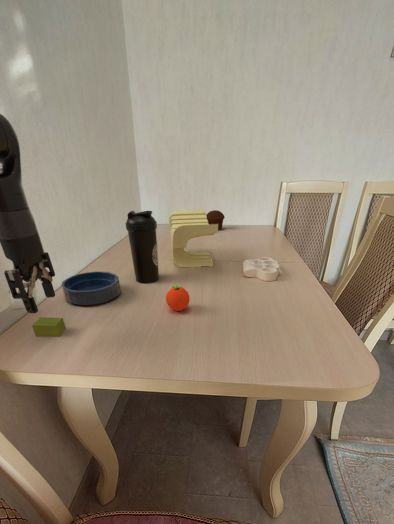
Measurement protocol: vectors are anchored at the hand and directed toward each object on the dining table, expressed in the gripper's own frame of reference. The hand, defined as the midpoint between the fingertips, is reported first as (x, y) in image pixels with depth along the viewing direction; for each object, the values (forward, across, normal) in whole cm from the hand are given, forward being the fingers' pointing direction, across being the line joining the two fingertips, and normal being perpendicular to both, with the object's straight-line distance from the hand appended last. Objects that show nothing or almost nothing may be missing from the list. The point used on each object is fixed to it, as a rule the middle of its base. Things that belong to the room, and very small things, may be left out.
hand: (42, 304), depth 70 cm
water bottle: (+10, -42, +16) cm, 46 cm away
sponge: (+10, 0, 0) cm, 10 cm away
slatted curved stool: (+10, -62, +31) cm, 70 cm away
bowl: (+10, -27, +1) cm, 29 cm away
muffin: (+10, -124, +40) cm, 131 cm away
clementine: (+10, -18, +30) cm, 36 cm away
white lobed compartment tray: (+10, -50, +59) cm, 78 cm away
